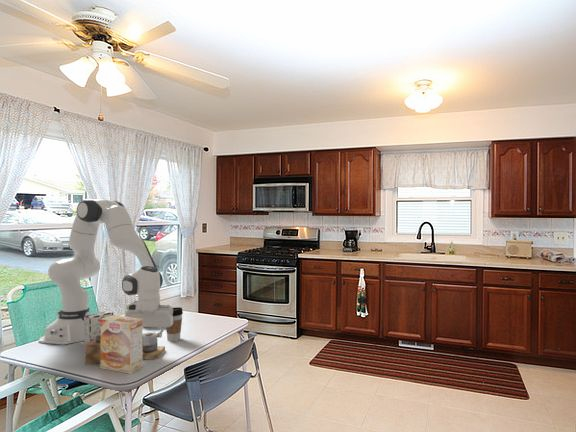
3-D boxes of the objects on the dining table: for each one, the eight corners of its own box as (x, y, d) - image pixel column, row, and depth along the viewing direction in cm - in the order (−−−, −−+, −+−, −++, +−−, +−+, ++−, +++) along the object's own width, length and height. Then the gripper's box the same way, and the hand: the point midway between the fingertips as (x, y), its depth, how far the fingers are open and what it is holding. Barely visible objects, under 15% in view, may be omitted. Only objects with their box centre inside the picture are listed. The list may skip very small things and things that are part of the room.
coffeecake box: (99, 368, 149) (99, 318, 149) (113, 362, 156) (113, 314, 156) (129, 374, 144) (129, 322, 144) (143, 367, 150) (143, 318, 150)
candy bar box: (107, 346, 174) (107, 310, 174) (114, 348, 172) (114, 311, 172) (83, 353, 165) (83, 315, 165) (90, 355, 162) (90, 317, 162)
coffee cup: (177, 343, 179) (177, 311, 179) (161, 341, 180) (161, 310, 180) (185, 337, 187) (185, 306, 187) (170, 336, 189) (170, 305, 189)
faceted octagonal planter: (144, 340, 167) (144, 332, 167) (158, 340, 167) (158, 332, 167) (138, 345, 161) (138, 337, 161) (153, 345, 161) (153, 337, 160)
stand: (85, 364, 153) (85, 338, 153) (94, 358, 160) (94, 333, 160) (102, 364, 153) (102, 338, 153) (110, 358, 160) (110, 333, 160)
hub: (132, 358, 159) (132, 337, 159) (142, 350, 169) (142, 330, 169) (156, 359, 159) (156, 337, 159) (164, 350, 169) (165, 330, 169)
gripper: (175, 303, 167) (175, 335, 167) (129, 302, 167) (128, 333, 167) (170, 307, 160) (170, 339, 160) (122, 306, 161) (122, 338, 161)
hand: (148, 336), depth 164 cm, fingers open, 8 cm apart
